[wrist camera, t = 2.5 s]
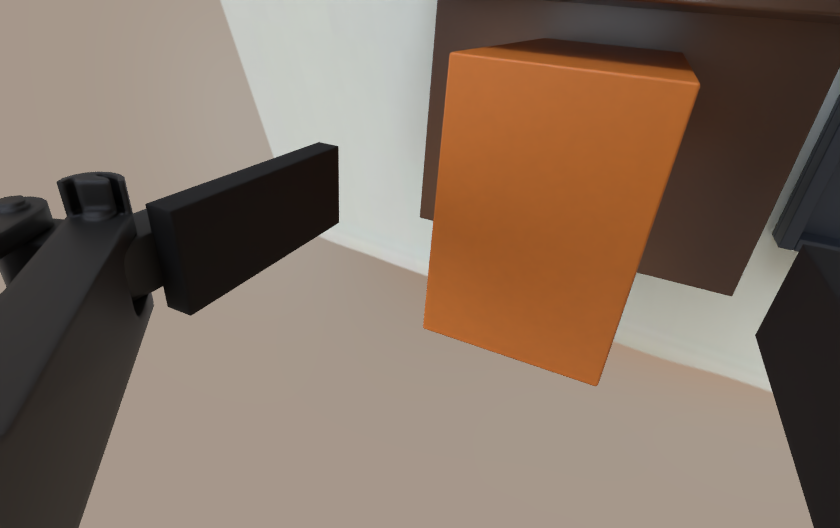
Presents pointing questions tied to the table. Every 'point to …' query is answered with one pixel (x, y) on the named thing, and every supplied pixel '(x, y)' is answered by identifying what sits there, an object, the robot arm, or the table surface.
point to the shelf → (711, 115)
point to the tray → (815, 196)
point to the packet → (550, 194)
